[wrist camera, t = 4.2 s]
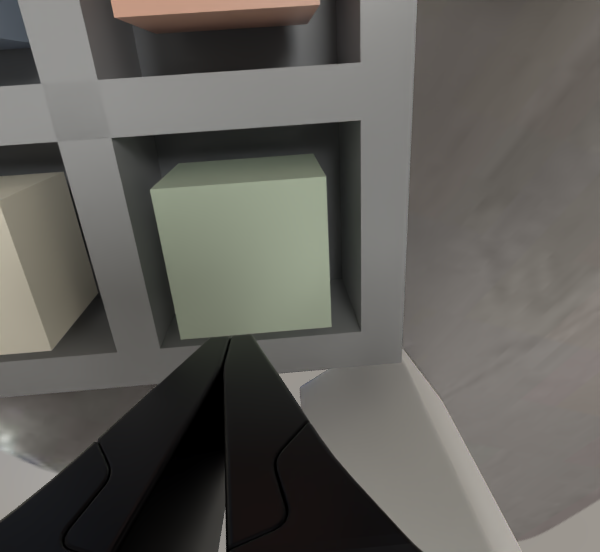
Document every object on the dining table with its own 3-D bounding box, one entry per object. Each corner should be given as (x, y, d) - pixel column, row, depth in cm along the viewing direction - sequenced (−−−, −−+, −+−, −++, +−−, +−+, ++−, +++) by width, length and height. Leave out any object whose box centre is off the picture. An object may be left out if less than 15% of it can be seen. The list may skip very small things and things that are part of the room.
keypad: (377, -257, 14) (436, -442, 9) (372, 299, 22) (401, 362, 17) (-274, -228, 13) (-595, -408, 8) (-28, 332, 22) (-116, 407, 17)
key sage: (313, 153, 16) (326, 176, 12) (319, 275, 18) (331, 327, 14) (178, 163, 16) (149, 189, 12) (199, 284, 18) (180, 339, 14)
